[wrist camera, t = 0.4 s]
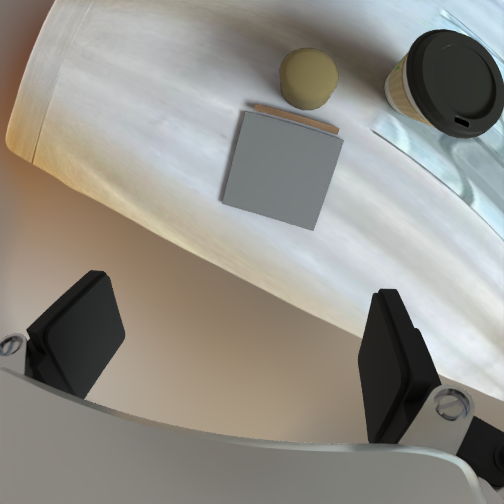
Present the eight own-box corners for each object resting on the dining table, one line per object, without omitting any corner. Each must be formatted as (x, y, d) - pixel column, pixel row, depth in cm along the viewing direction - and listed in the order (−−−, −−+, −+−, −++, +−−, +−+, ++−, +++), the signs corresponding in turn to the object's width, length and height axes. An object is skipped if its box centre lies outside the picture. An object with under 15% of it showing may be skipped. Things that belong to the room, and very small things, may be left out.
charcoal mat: (246, 111, 34) (245, 111, 33) (343, 140, 34) (343, 140, 33) (223, 202, 39) (222, 203, 39) (313, 229, 39) (313, 230, 38)
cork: (319, 118, 33) (328, 117, 23) (272, 97, 33) (261, 87, 23) (339, 76, 30) (356, 59, 21) (292, 55, 30) (290, 29, 20)
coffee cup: (445, 70, 27) (512, 55, 14) (434, 140, 31) (501, 157, 18) (375, 45, 28) (418, 6, 14) (364, 118, 32) (406, 117, 19)
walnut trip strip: (256, 104, 33) (255, 103, 32) (338, 128, 33) (339, 128, 32) (255, 110, 34) (253, 110, 33) (336, 134, 33) (337, 134, 32)
